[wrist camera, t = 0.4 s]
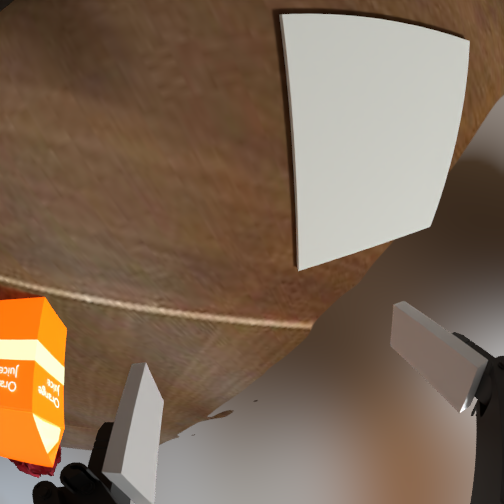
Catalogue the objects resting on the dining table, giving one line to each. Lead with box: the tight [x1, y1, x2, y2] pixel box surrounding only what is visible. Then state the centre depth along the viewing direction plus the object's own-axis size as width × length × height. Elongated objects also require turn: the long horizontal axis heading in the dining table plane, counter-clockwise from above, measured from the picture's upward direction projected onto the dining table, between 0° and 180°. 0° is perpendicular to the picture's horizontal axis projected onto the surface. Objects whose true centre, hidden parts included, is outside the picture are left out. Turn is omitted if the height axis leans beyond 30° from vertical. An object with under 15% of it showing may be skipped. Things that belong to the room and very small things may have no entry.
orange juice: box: [0, 297, 67, 468], centre depth 22 cm, size 8×9×20 cm
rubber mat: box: [279, 14, 470, 271], centre depth 25 cm, size 28×22×1 cm
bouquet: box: [8, 444, 61, 478], centre depth 52 cm, size 22×24×30 cm
